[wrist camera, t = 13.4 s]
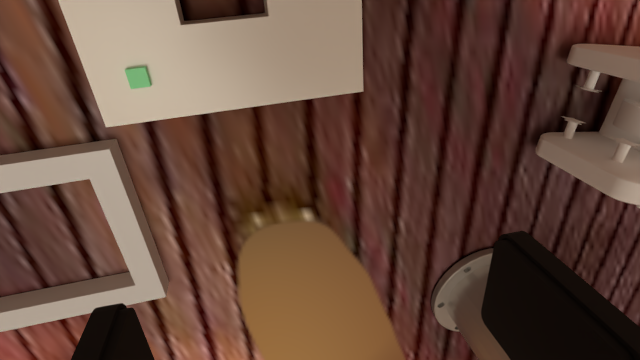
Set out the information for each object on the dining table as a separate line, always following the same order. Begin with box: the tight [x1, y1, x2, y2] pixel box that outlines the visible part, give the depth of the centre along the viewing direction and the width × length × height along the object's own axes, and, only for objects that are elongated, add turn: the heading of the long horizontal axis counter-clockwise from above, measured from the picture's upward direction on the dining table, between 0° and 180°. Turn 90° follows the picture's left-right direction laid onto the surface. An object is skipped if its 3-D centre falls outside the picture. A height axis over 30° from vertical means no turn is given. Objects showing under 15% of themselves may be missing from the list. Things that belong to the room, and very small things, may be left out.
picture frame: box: [0, 139, 169, 332], centre depth 29 cm, size 17×14×2 cm
